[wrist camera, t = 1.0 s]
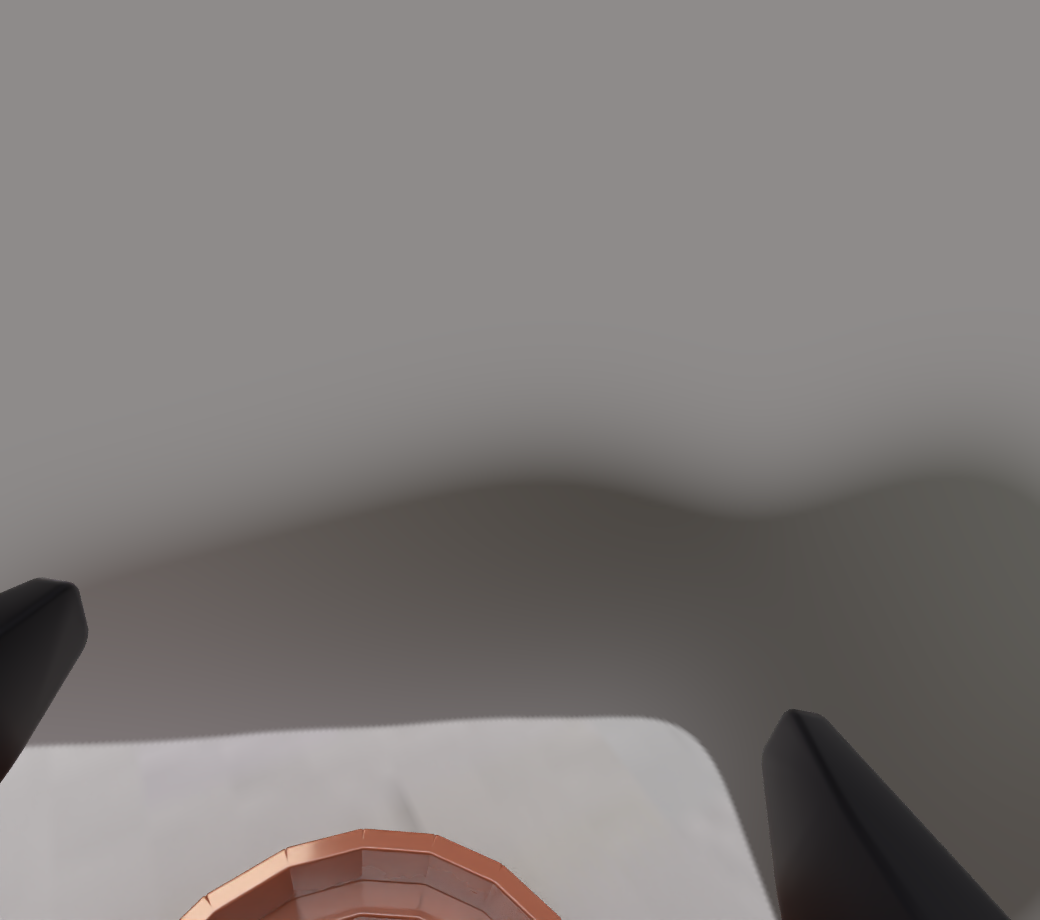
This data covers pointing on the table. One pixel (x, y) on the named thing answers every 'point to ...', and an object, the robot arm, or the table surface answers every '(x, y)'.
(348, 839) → the bowl
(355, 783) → the table surface
